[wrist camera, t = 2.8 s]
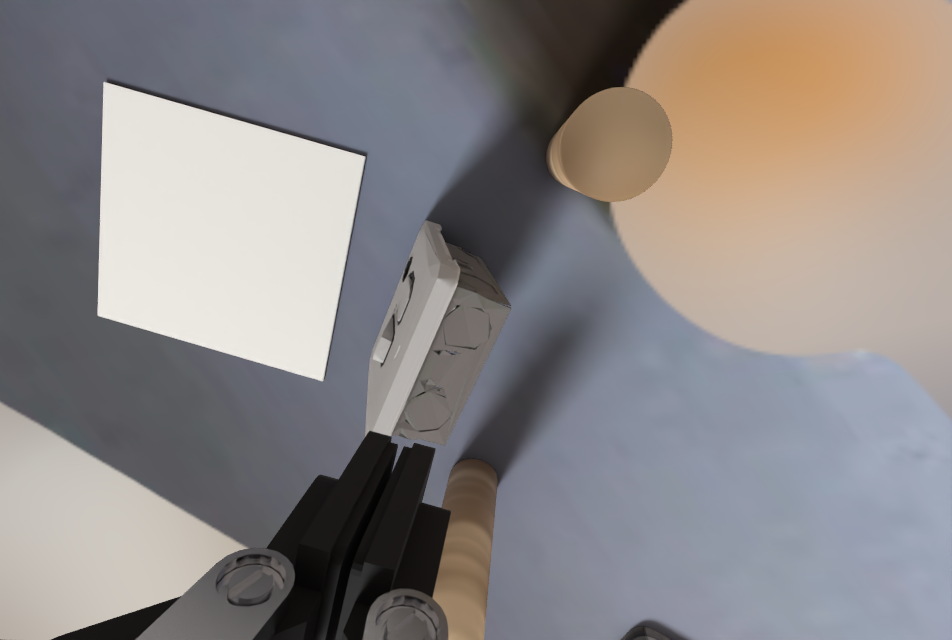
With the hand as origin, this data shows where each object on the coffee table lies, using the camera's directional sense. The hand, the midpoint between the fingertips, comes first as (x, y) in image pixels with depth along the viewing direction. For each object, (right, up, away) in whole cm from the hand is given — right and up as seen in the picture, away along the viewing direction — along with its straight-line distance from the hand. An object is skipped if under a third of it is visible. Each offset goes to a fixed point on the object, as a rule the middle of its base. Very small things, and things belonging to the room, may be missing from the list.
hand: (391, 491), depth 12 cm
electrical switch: (0, +5, +17) cm, 18 cm away
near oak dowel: (+7, +13, +14) cm, 20 cm away
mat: (-13, +9, +17) cm, 23 cm away
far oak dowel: (+2, -6, +21) cm, 22 cm away
